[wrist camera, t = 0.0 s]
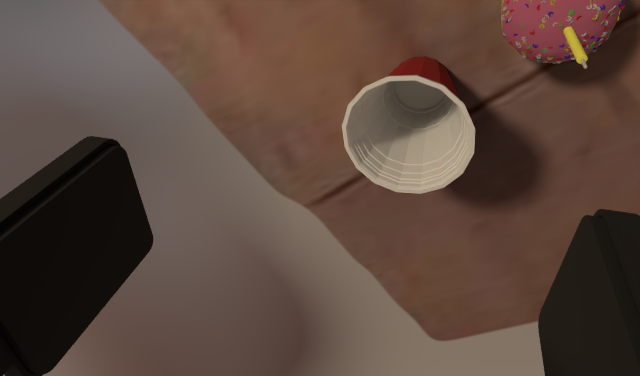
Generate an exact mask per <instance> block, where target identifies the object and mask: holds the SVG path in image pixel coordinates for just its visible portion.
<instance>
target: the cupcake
mask: <svg viewBox="0 0 640 376" xmlns="http://www.w3.org/2000/svg"><path fill="white" fill-rule="evenodd" d="M624 1H625V0H502V4H501V26H502V32H503V36H504V38H505V39H506V40H507V41H508V42H509V43H510V44H511V45H512V46H513V47H515V48H516V50H517V51H518V52H519V53H520V54H521V55H522V56H523V58H527V59H530V60H533V61H537V62H539V63H542V62H543V63H553V64H556V63H561V62H564V61H569V60H571V61H574V60H575V59H576V61H577V63H579V64H582V65H583V67H584V68H585V69H586V68H587V65H586V61H587V59H588V57H587V55H588V54H589V53H590V52H592V53H593V52H595V51H596V50H597V49H596V48H597V47H600V46H601V45H602V43H603V42H604V41H606V40H608V38H609V35H610V34H611V32H612V30H613V28H614V26H615V24H616V22H617V21H619V16H620V13H621V11H622V9H624V7H625V4H624ZM599 45H600V46H599ZM594 49H595V51H593V50H594Z"/></svg>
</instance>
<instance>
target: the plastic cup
mask: <svg viewBox="0 0 640 376" xmlns="http://www.w3.org/2000/svg"><path fill="white" fill-rule="evenodd" d="M342 130H343V137H344V144H345V149H346V151H347V152H348V154H349V156H350V158H351V159H352V161H353V163H354V165H355V166H356V168H357V169H358V170H360V171H361V172H362V173H363V174H364V175H365V176H367V177H368V178H369V179H370V180H371V181H373V182H374V183H376V184H378V185H381V186H383V187H385V188H388V189H390V190H393V191H395V192H404V193H418V194H421V193H425V192H429V191H433V190H436V189H440V188H444V187H445V186H447V185H448V184H449V183H451V182H452V181H453V180H455V179H456V178H457V177H459V176H460V175H461V174H463V172H464V170H465V169H466V167H467V165H468V163H469V161H470V160H471V158H472V156H473V154H474V145H475V127H474V125H473V123H472V120H471V118H470V116H469V114H468V111H467V109H466V107H465V105H464V103H463V102H462V101H461V100H460V99H459V97H458V94H457V91H456V89H455V86H454V84H453V82H452V80H451V78H450V76H449V73H448V71H447V69H446V68H445V67H444V66H443V65H442V64H440V63H439V62H438V61H437V60H434V59H431V58H428V57H414V58H411V59H409V60H407V61H405V62H403V63H401V64H400V65H399V67H398V68H396V69H395V70H394V71H393V72H392V73H390V74H389V75H388V76H387V77H386V78H383V79H381V80H379V81H377V82H374V83H372V84H370V85H368V86H365V87H364V88H363V89H362V90H361V91H360V92H359V93H358V95H357V96H356V97H355V98H354V99H353V100H352V101H351V102H350V103H349V105H348V108H347V111H346V114H345V118H344V121H343V124H342Z"/></svg>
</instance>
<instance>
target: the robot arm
mask: <svg viewBox="0 0 640 376" xmlns="http://www.w3.org/2000/svg"><path fill="white" fill-rule="evenodd" d="M152 244H153V234H152V231H151V228H150V225H149V222H148V219H147V215H146V212H145V209H144V206H143V203H142V200H141V197H140V194H139V190H138V188H137V185H136V181H135V178H134V175H133V172H132V168H131V166H130V162H129V159H128V156H127V153H126V151H125V150H124V149H123V148H122V147H121V146H120V144H119V143H118V142H117V141H116V140H113V139H108V138H101V137H94V136H90V137H86V138H84V139H83V140H81V141H80V142H78V143H77V144H76V145H74V146H73V147H72V148H70V149H69V150H67V151H66V152H65V153H63V154H62V155H61V156H59V157H58V158H56V159H55V160H54V161H52V162H51V163H50V164H48V165H47V166H45V167H44V168H43V169H41V170H40V171H38V172H37V173H36V174H34V175H33V176H32V177H30V178H29V179H27V180H26V181H25V182H23V183H22V184H20V185H19V186H18V187H16V188H15V189H14V190H12V191H11V192H9V193H8V194H7V195H5V196H4V197H2V198H1V199H0V376H3V375H4V374H5V376H42V375H43V374H46V373H48V372H50V371H51V370H52V369H53V368H54V367H55V366H56V365H57V364H58V362H59V361H60V360H61V359H62V357H63V356H64V355H65V354H66V353H67V351H68V350H69V349H70V348H71V347H72V345H73V344H74V343H75V342H76V340H77V339H78V338H79V337H80V335H81V334H82V333H83V332H84V330H85V329H86V328H87V327H88V326H89V324H90V323H91V322H92V321H93V320H94V318H95V317H96V316H97V315H98V314H99V312H100V311H101V310H102V308H103V307H104V306H105V305H106V304H107V302H108V301H109V300H110V299H111V297H112V296H113V295H114V294H115V293H116V292H117V290H118V289H119V288H120V287H121V285H122V284H123V283H124V282H125V280H126V279H127V278H128V277H129V276H130V274H131V273H132V272H133V271H134V270H135V268H136V267H137V266H138V265H139V263H140V262H141V261H142V260H143V259H144V257H145V256H146V255H147V253H148V252H149V251H150V249H151V247H152ZM538 324H539V325H538V328H539V337H540V344H541V350H542V357H543V364H544V371H545V376H640V216H639V215H637V214H633V213H626V212H619V211H612V210H605V209H600V210H598V211H597V212H596V213H595V214H594V216H589V215H586V216H584V217H583V218H582V220H581V222H580V224H579V226H578V228H577V231H576V233H575V235H574V237H573V240H572V242H571V244H570V246H569V249H568V251H567V253H566V255H565V258H564V260H563V262H562V264H561V266H560V269H559V271H558V273H557V275H556V278H555V280H554V282H553V284H552V287H551V289H550V291H549V293H548V296H547V298H546V300H545V302H544V305H543V307H542V309H541V312H540V316H539V323H538Z"/></svg>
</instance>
